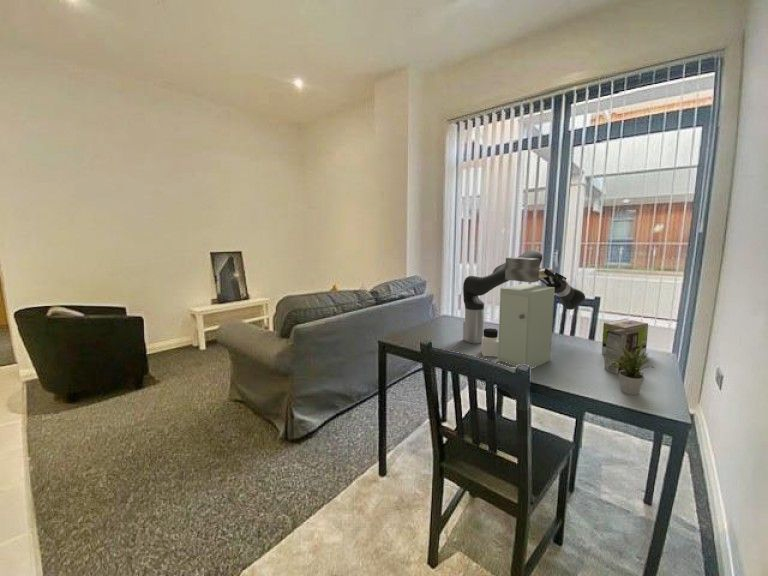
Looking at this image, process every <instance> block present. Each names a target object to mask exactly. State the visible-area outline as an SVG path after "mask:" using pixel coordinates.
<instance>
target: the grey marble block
mask: <svg viewBox="0 0 768 576" xmlns="http://www.w3.org/2000/svg"><path fill="white" fill-rule="evenodd" d="M518 257H519V256H518ZM518 257H517V256H516V257H514V256H511V257H505V263H506V267H505V280H509V281H514V282H522V283H529V284H531V283H538V282H539V281H540V280H539V278H543V277H549V276H547V275H546V274H545V273H544V271H545V269H546V268H540V266H541V263H540V259H535V258H518ZM539 268H540V270H539ZM547 269H548V270H550V271H551V272H553V273H554V271H555V270H554V268H548V267H547Z"/></svg>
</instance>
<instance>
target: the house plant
mask: <svg viewBox="0 0 768 576" xmlns="http://www.w3.org/2000/svg"><path fill="white" fill-rule="evenodd" d="M617 345H618V344H617ZM619 346H620V345H619ZM620 347H621V346H620ZM621 348H622V347H621ZM641 349H643V348H642V346H640V347H639V348H637V349H636V351H635V352H634V354H633V358H632V357H631V355H630V353H629V352H628V351H627V350H626V349H623V348H622V350H623V352H624V355H625V356H626V357H625V356H623V355H622V356H623V358H624V359H625V360H626V362H627V363H625V362H623V361H624V360H623V359H621V358H620V357H621V356H620V355H619V354H620V353H619V354H618V355H619V356H620V357H618V356H617V357H618V358H619V359H620V360H616V359H610V360H613V361H616V362H618V363H620V364H622V365H623V366H624V367H623V366H621V365H618V364H614V365H612V366H615V367H614V368H618V367H623V368H624V369H625V370H624V369H623V370H622V371H620V372H619V374H618V375H619V385H620V391H621V392H623V393H624V394H627V395H632V396H636V395H639V394H640V392H641V389H642V385H643V382H644V379H645V376H644V372H641V371H642V370H644V369H647V368H648V366H645V367H642V366H643V365H644V364H645V363H647V362H648V361H650V360H652V359H653V357H651V358H649V359H647V360H646V358H647V356H648V355H649V352H646V355H644V354H645V351H644V352H643V353H642V355H641V356H639V353H640V351H641ZM609 350H611V349H609ZM613 351H614V350H613ZM625 351H626V352H625ZM616 352H617V351H616ZM614 353H615V352H614ZM626 353H627V354H626ZM627 356H628V357H627ZM638 356H639V357H638ZM622 360H623V361H622ZM611 362H612V361H611ZM641 367H642V368H641ZM640 368H641V369H640ZM652 368H653V369H656V368H655V367H654V366H652Z"/></svg>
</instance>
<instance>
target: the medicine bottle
mask: <svg viewBox="0 0 768 576" xmlns="http://www.w3.org/2000/svg"><path fill="white" fill-rule="evenodd" d="M480 349H481V354H482V355H483V356H482V355H481V356H482V357H485V356H494V357H493V358H498V349H499V330H498V329H496V328H494V327H486V328H483V337H482V343H481V348H480Z"/></svg>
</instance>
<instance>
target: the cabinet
mask: <svg viewBox="0 0 768 576" xmlns="http://www.w3.org/2000/svg"><path fill="white" fill-rule="evenodd" d="M554 292H555V287H547V286H546V285H538V284H537V285H536V284H531V283H521V284H515V285H511V286H509V285H508V286H504V287H500V293H499V294H500V295H499V297H500V300H499V319H498V320H499V323H498V324H499V325H498V326H499V327H498V328H499V329H498V340H499V349H498V357H497V358H498V359H497V361H498V360H500V361H499V362H501V361H503V362H502V363H504V362H507V363H510V364H511V365H510V364H509V365H510V366H513V367H516V365H518V364H526V365H529V366H530V367H531V368H532V367H535V366H537V367H539V366H541V365H544V364H546V363H548V362H550V361H551V358H552V357H551V356H552V354H551V353H552V339H553V337H552V335H553V322H554V306H555V305H554V304H555V294H554ZM547 361H548V362H547ZM545 362H546V363H545ZM507 363H506V364H507ZM543 363H544V364H543ZM540 364H541V365H540ZM538 365H539V366H538ZM535 368H536V367H535ZM532 369H533V368H532Z"/></svg>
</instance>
